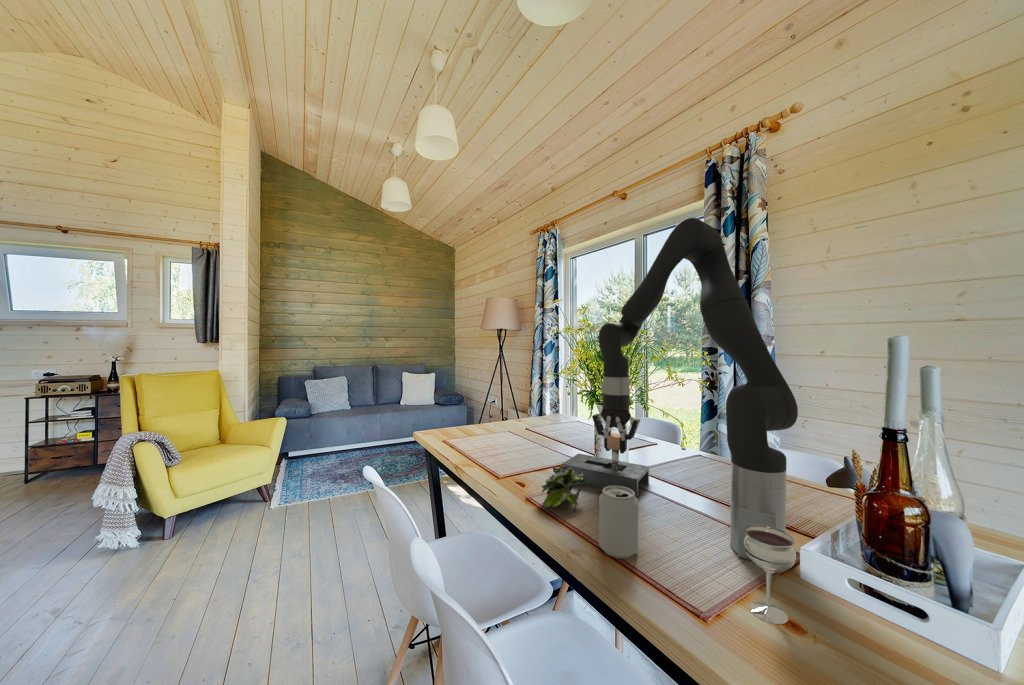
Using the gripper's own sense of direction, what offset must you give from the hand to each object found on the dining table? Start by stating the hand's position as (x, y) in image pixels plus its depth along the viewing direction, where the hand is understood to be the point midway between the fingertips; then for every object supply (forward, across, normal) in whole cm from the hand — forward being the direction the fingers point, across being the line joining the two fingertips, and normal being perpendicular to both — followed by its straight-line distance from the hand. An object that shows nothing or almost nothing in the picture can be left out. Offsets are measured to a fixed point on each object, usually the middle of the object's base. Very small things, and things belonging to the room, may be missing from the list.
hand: (615, 451), depth 111 cm
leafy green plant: (+10, -6, -20) cm, 23 cm away
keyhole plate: (+9, -3, 0) cm, 10 cm away
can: (+10, +12, -33) cm, 37 cm away
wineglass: (+10, +37, -37) cm, 53 cm away
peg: (+7, 0, 0) cm, 7 cm away
